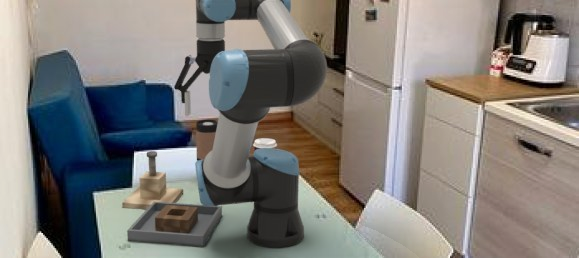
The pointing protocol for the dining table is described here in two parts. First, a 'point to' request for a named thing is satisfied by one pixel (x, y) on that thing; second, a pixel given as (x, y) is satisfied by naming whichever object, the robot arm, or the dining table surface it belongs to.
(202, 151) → the travel mug
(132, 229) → the tray
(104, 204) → the dining table surface
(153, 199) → the stake stand
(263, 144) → the paper cup
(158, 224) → the collar
